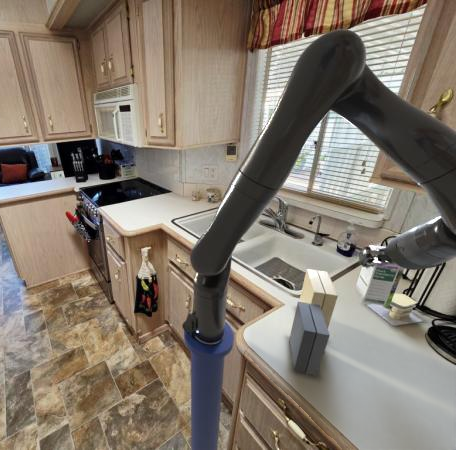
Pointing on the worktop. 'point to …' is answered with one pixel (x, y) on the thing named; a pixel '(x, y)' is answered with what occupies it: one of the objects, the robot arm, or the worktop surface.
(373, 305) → the stacked layers on plate
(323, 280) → the cream cookbooks
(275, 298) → the worktop surface
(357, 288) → the syrup box
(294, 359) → the grey books
